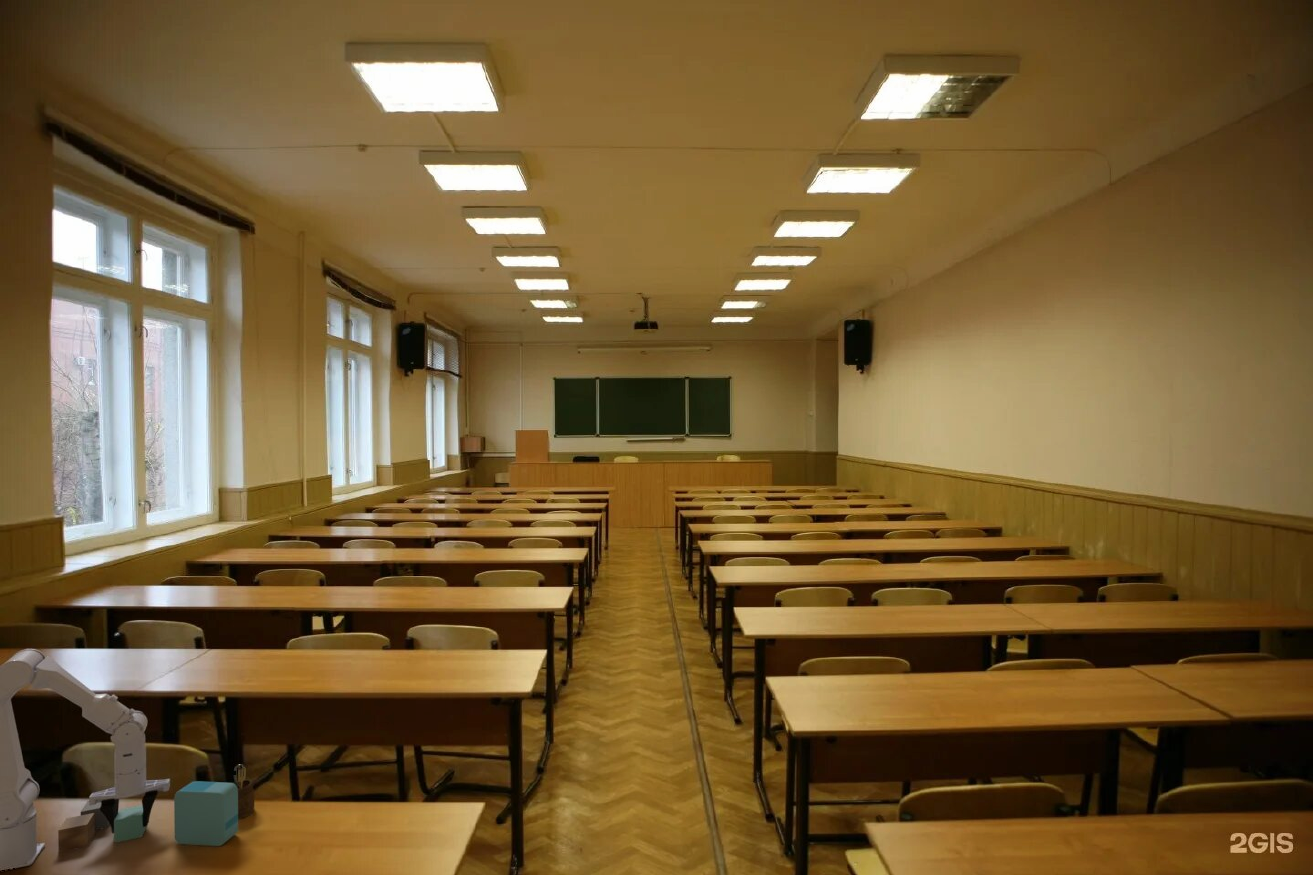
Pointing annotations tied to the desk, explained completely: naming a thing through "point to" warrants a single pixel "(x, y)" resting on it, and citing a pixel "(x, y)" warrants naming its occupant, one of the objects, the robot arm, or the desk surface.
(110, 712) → the robot arm
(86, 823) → the walnut block
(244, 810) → the utensil holder
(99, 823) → the charcoal block
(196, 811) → the data package
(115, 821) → the teal block
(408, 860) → the desk surface
